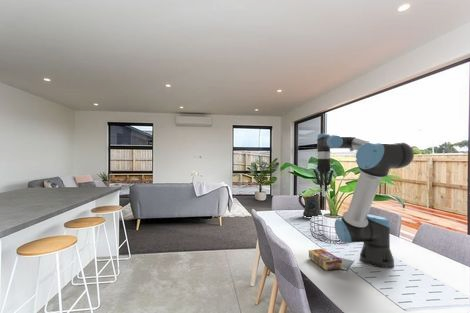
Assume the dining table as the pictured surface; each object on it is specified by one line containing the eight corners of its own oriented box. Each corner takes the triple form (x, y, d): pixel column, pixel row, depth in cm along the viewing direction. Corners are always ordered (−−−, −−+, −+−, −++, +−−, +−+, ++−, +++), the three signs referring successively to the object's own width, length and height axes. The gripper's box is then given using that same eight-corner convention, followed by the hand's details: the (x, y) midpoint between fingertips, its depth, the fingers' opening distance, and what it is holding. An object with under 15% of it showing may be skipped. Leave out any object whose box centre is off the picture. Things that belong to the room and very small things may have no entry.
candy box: (308, 258, 127) (325, 270, 112) (308, 249, 127) (325, 261, 112) (323, 256, 129) (342, 268, 114) (323, 248, 129) (342, 259, 114)
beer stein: (325, 219, 213) (325, 190, 213) (305, 220, 208) (305, 191, 209) (315, 214, 229) (315, 188, 229) (296, 215, 225) (296, 189, 225)
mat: (354, 261, 124) (354, 260, 124) (346, 270, 113) (346, 269, 113) (325, 254, 133) (325, 253, 133) (316, 262, 122) (316, 261, 122)
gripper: (336, 158, 150) (336, 196, 150) (315, 158, 158) (315, 194, 158) (332, 158, 144) (332, 198, 144) (311, 158, 152) (311, 195, 152)
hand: (324, 196), depth 151 cm, fingers closed
